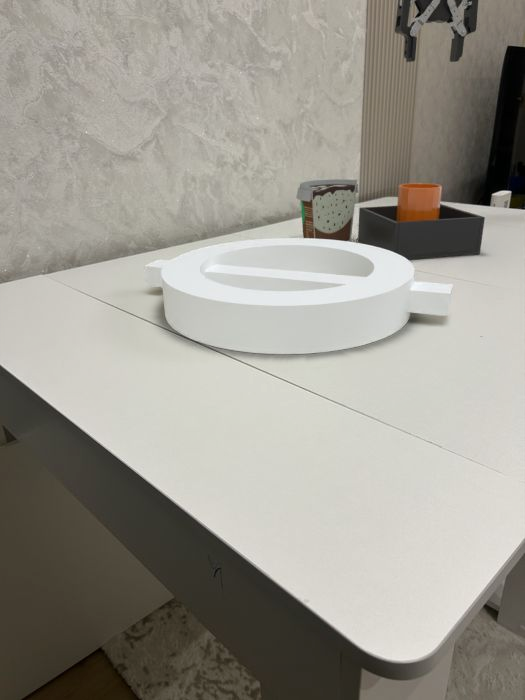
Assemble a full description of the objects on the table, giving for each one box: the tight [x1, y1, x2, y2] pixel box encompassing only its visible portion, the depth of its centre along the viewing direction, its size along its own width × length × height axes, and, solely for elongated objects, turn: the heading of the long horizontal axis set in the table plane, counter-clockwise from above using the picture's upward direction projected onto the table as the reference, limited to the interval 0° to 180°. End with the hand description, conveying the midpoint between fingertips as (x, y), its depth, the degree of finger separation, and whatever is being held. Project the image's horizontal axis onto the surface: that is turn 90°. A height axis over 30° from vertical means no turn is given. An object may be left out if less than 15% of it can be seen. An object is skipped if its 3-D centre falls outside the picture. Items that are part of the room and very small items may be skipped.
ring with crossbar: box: [143, 237, 454, 355], centre depth 63 cm, size 28×28×5 cm
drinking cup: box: [396, 182, 443, 222], centre depth 86 cm, size 6×6×9 cm
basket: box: [357, 203, 486, 261], centre depth 87 cm, size 14×14×6 cm
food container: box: [295, 178, 359, 242], centre depth 90 cm, size 12×6×10 cm, turn 134°
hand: (432, 61), depth 98 cm, fingers open, 8 cm apart
